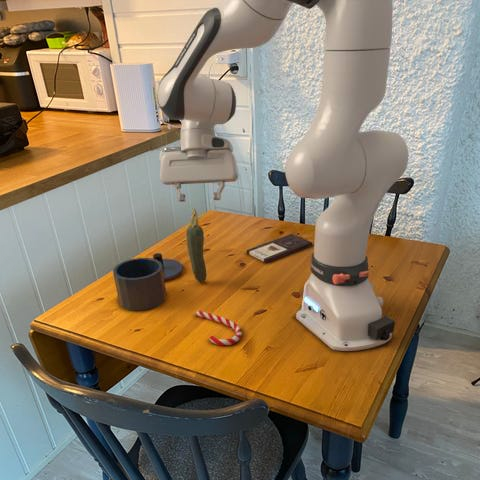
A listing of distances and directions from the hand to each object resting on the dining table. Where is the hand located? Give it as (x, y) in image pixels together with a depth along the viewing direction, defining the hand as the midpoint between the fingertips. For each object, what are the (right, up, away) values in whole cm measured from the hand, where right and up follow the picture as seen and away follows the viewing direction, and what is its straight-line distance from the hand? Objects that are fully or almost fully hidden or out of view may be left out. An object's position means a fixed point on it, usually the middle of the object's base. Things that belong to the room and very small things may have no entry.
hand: (199, 200), depth 121 cm
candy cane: (+5, -33, -17) cm, 38 cm away
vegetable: (0, -22, +1) cm, 22 cm away
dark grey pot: (-14, -26, -5) cm, 30 cm away
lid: (-12, -17, +7) cm, 22 cm away
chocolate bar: (+22, -10, +17) cm, 30 cm away
